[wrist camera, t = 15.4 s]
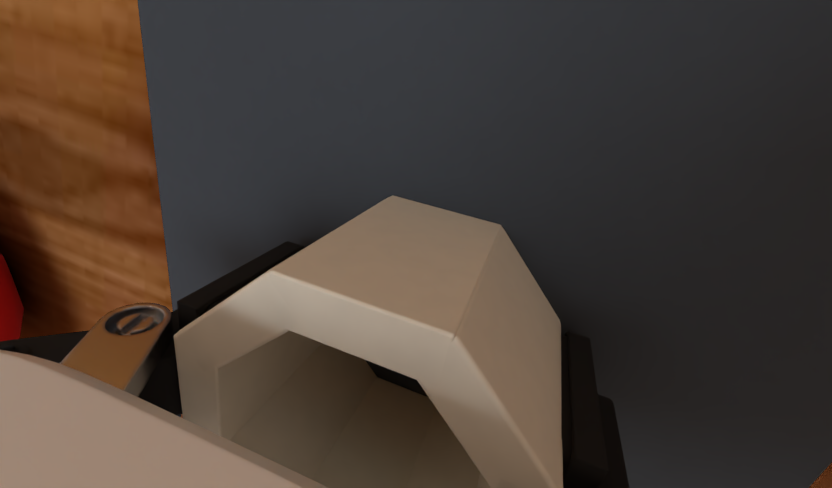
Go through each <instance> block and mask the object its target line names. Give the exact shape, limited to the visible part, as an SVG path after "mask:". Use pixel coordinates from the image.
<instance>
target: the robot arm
mask: <svg viewBox="0 0 832 488" xmlns="http://www.w3.org/2000/svg"><path fill="white" fill-rule="evenodd" d="M304 248H306V247H305V246H302V245H299V244H295V243H292V242H289V241H287V242H284V243H282V244H281V245H279V246H277V247H275V248H273V249H271V250H270V251H268V252H266V253H264V254H262V255H260V256H259V257H257V258H255V259H253V260H251V261H249V262H248V263H246V264H244V265H242V266H240V267H239V268H237V269H235V270H233V271H231V272H229V273H228V274H226V275H224V276H222V277H220V278H218V279H217V280H215V281H213V282H211V283H209V284H207V285H206V286H204V287H202V288H200V289H198V290H196V291H195V292H193V293H191V294H189V295H187V296H186V297H184V298H182V299H180V300H178V301H177V308H178V309H177V310H175V311H173V312H170V310H169V309H168V308H167V307H165V306H163V305H160V304H155V303H136V304H131V305H126V306H123V307H120V308H117V309H115V310H113V311H111V312H109V313H107V314H106V315H105V316H103V317H102V318H101V319H100V320H99V321H98V322H97V323H96V324H95V325H94V326H93V327H92V329H91V330H90V331H82V332H73V333H65V334H56V335H48V336H39V337H31V338H22V339H14V340H6V341H0V488H328V487H326V486H324V485H322V484H320V483H318V482H316V481H313V480H311V479H309V478H307V477H305V476H303V475H301V474H299V473H297V472H295V471H293V470H291V469H288V468H286V467H284V466H282V465H280V464H278V463H276V462H274V461H272V460H270V459H268V458H265V457H263V456H261V455H259V454H257V453H255V452H253V451H251V450H249V449H247V448H244V447H242V446H240V445H238V444H236V443H234V442H232V441H230V440H228V439H226V438H223V437H221V436H219V435H217V434H215V433H213V432H211V431H209V430H207V429H204V428H202V427H200V426H198V425H196V424H194V423H192V422H190V421H187V420H185V419H183V418H181V414H182V406H181V397H180V388H179V379H178V371H177V362H176V353H175V345H174V335H175V334H176V333H177V332H178V331H179V330H181V329H182V328H184V327H185V326H187V325H188V324H189V323H191V322H192V321H194V320H195V319H197V318H198V317H200V316H201V315H203V314H204V313H206V312H207V311H209V310H210V309H212V308H213V307H215V306H216V305H218V304H219V303H221V302H222V301H224V300H225V299H227V298H228V297H229V296H231V295H232V294H234V293H235V292H237V291H238V290H240V289H241V288H243V287H244V286H246V285H247V284H249V283H250V282H252V281H253V280H255V279H256V278H258V277H259V276H261V275H262V274H264V273H265V272H267V271H268V270H270V269H271V268H273V267H275V266H276V265H278V264H279V263H281V262H283V261H284V260H286V259H288V258H289V257H291V256H293V255H294V254H296V253H297V252H299V251H301V250H302V249H304ZM561 429H562V448H563V488H629V482H628V477H627V472H626V466H625V461H624V456H623V450H622V445H621V439H620V434H619V429H618V423H617V418H616V413H615V407H614V404H613V401H612V400H611V399H610V398H607V397H604V396H602V395H599V394H598V392H597V385H596V378H595V370H594V363H593V356H592V349H591V342H590V338H588V337H585V336H582V335H579V334H576V333H573V332H570V331H567V332H566V333H565V335H561Z"/></svg>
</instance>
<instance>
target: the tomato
mask: <svg viewBox="0 0 832 488" xmlns="http://www.w3.org/2000/svg"><path fill="white" fill-rule="evenodd" d="M23 311H24V307H23V305H22V302H21V299H20V297H19V294H18V291H17V289H16V286H15V283H14V281H13V278H12V275H11V273H10V270H9V268H8V266H7V263H6V261H5V259H4V257H3V255H2V254H1V253H0V341H6V340H14V339H19V337H20V333H21V326H22V319H23Z"/></svg>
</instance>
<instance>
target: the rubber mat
mask: <svg viewBox="0 0 832 488" xmlns="http://www.w3.org/2000/svg"><path fill="white" fill-rule="evenodd" d="M138 8H139V16H140V25H141V34H142V43H143V52H144V60H145V69H146V78H147V87H148V96H149V104H150V113H151V122H152V131H153V140H154V149H155V157H156V166H157V175H158V184H159V193H160V201H161V210H162V219H163V228H164V237H165V245H166V254H167V263H168V272H169V281H170V289H171V298H172V307H173V311H175V310H177V309H178V308H177V301H178V300H180V299H182V298H184V297H186V296H187V295H189V294H191V293H193V292H195V291H196V290H198V289H200V288H202V287H204V286H206V285H207V284H209V283H211V282H213V281H215V280H217V279H218V278H220V277H222V276H224V275H226V274H228V273H229V272H231V271H233V270H235V269H237V268H239V267H240V266H242V265H244V264H246V263H248V262H249V261H251V260H253V259H255V258H257V257H259V256H260V255H262V254H264V253H266V252H268V251H270V250H271V249H273V248H275V247H277V246H279V245H281V244H282V243H284V242H287V241H289V242H292V243H295V244H299V245H302V246H305V247H307V246H309V245H311V244H312V243H314V242H316V241H317V240H319V239H320V238H322V237H324V236H325V235H327V234H329V233H330V232H332V231H334V230H335V229H337V228H338V227H340V226H342V225H343V224H345V223H347V222H348V221H350V220H352V219H353V218H355V217H356V216H358V215H360V214H361V213H363V212H365V211H366V210H368V209H370V208H371V207H373V206H375V205H376V204H378V203H379V202H381V201H383V200H384V199H386V198H388V197H390V196H397V197H401V198H404V199H408V200H412V201H415V202H419V203H423V204H426V205H430V206H434V207H437V208H441V209H445V210H448V211H452V212H456V213H459V214H463V215H467V216H470V217H474V218H478V219H482V220H485V221H489V222H493V223H496V224H500V225H501V226H502V228H503V229H504V230H505V232H506V233H507V235H508V237H509V238H510V240H511V241H512V243H513V245H514V246H515V248H516V250H517V251H518V253H519V254H520V256H521V258H522V259H523V261H524V263H525V264H526V266H527V268H528V269H529V271H530V272H531V274H532V276H533V277H534V279H535V281H536V282H537V284H538V285H539V287H540V289H541V290H542V292H543V294H544V295H545V297H546V298H547V300H548V302H549V303H550V305H551V307H552V308H553V310H554V312H555V313H556V315H557V316H558V318H559V320H560V323H561V335H565V333H566V332H567V331H570V332H573V333H576V334H579V335H582V336H585V337H588V338H590V342H591V349H592V356H593V363H594V370H595V378H596V385H597V392H598V394H599V395H602V396H604V397H607V398H610V399H611V400H612V401H613V404H614V407H615V413H616V418H617V423H618V429H619V434H620V439H621V445H622V450H623V456H624V461H625V466H626V472H627V477H628V482H629V488H809V487H810V486H811V485H812V483H813V482H814V481H815V480H816V479H817V478H818V477H819V476H820V475H821V473H822V472H823V471H824V470H825V469H826V468H827V467H828V466H829V465H830V464H831V462H832V0H138ZM365 361H366V362H367V363H368V365H369V366H370V368H371V369H372V370H373V372H374V373H375V375H376V376H377V377H378V378H380V379H383V380H386V381H388V382H391V383H393V384H396V385H398V386H401V387H403V388H406V389H408V390H411V391H413V392H416V393H418V394H421V395H423V396H426V397H428V396H427V394H426V393H425V391H424V390H423V388H422V387H421V385H420V384H419V382H418V381H417V380H416V379H413V378H411V377H408V376H405V375H403V374H400V373H398V372H395V371H392V370H390V369H387V368H385V367H382V366H380V365H377V364H374V363H372V362H369V361H367V360H365ZM428 398H429V397H428Z"/></svg>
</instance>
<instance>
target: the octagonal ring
mask: <svg viewBox="0 0 832 488" xmlns="http://www.w3.org/2000/svg"><path fill="white" fill-rule="evenodd" d="M174 345H175V353H176V362H177V371H178V379H179V388H180V397H181V406H182V414H183V419H185V420H187V421H190V422H192V423H194V424H196V425H198V426H200V427H202V428H204V429H207V430H209V431H211V432H213V433H215V434H217V435H219V436H221V437H223V438H226V439H228V440H230V441H232V442H234V443H236V444H238V445H240V446H242V447H244V448H247V449H249V450H251V451H253V452H255V453H257V454H259V455H261V456H263V457H265V458H268V459H270V460H272V461H274V462H276V463H278V464H280V465H282V466H284V467H286V468H288V469H291V470H293V471H295V472H297V473H299V474H301V475H303V476H305V477H307V478H309V479H311V480H313V481H316V482H318V483H320V484H322V485H324V486H326V487H328V488H563V448H562V429H561V323H560V320H559V318H558V316H557V315H556V313H555V312H554V310H553V308H552V307H551V305H550V303H549V302H548V300H547V298H546V297H545V295H544V294H543V292H542V290H541V289H540V287H539V285H538V284H537V282H536V281H535V279H534V277H533V276H532V274H531V272H530V271H529V269H528V268H527V266H526V264H525V263H524V261H523V259H522V258H521V256H520V254H519V253H518V251H517V250H516V248H515V246H514V245H513V243H512V241H511V240H510V238H509V237H508V235H507V233H506V232H505V230H504V229H503V228H502V226H501V225H500V224H496V223H493V222H489V221H485V220H482V219H478V218H474V217H470V216H467V215H463V214H459V213H456V212H452V211H448V210H445V209H441V208H437V207H434V206H430V205H426V204H423V203H419V202H415V201H412V200H408V199H404V198H401V197H397V196H390V197H388V198H386V199H384V200H383V201H381V202H379V203H378V204H376V205H375V206H373V207H371V208H370V209H368V210H366V211H365V212H363V213H361V214H360V215H358V216H356V217H355V218H353V219H352V220H350V221H348V222H347V223H345V224H343V225H342V226H340V227H338V228H337V229H335V230H334V231H332V232H330V233H329V234H327V235H325V236H324V237H322V238H320V239H319V240H317V241H316V242H314V243H312V244H311V245H309V246H307V247H306V248H304V249H302V250H301V251H299V252H297V253H296V254H294V255H293V256H291V257H289V258H288V259H286V260H284V261H283V262H281V263H279V264H278V265H276V266H275V267H273V268H271V269H270V270H268V271H267V272H265V273H264V274H262V275H261V276H259V277H258V278H256V279H255V280H253V281H252V282H250V283H249V284H247V285H246V286H244V287H243V288H241V289H240V290H238V291H237V292H235V293H234V294H232V295H231V296H229V297H228V298H227V299H225V300H224V301H222V302H221V303H219V304H218V305H216V306H215V307H213V308H212V309H210V310H209V311H207V312H206V313H204V314H203V315H201V316H200V317H198V318H197V319H195V320H194V321H192V322H191V323H189V324H188V325H187V326H185V327H184V328H182V329H181V330H179V331H178V332H177V333H176V334H175V335H174ZM365 360H367V361H369V362H372V363H374V364H377V365H380V366H382V367H385V368H387V369H390V370H392V371H395V372H398V373H400V374H403V375H405V376H408V377H411V378H413V379H416V380H417V381H418V382H419V384H420V385H421V387H422V388H423V390H424V391H425V393H426V394H427V396H428V397H429V398H428V397H426V396H423V395H421V394H418V393H416V392H413V391H411V390H408V389H406V388H403V387H401V386H398V385H396V384H393V383H391V382H388V381H386V380H383V379H380V378H378V377H377V376H376V375H375V373H374V372H373V370H372V369H371V368H370V366H369V365H368V363H367V362H366V361H365Z"/></svg>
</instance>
